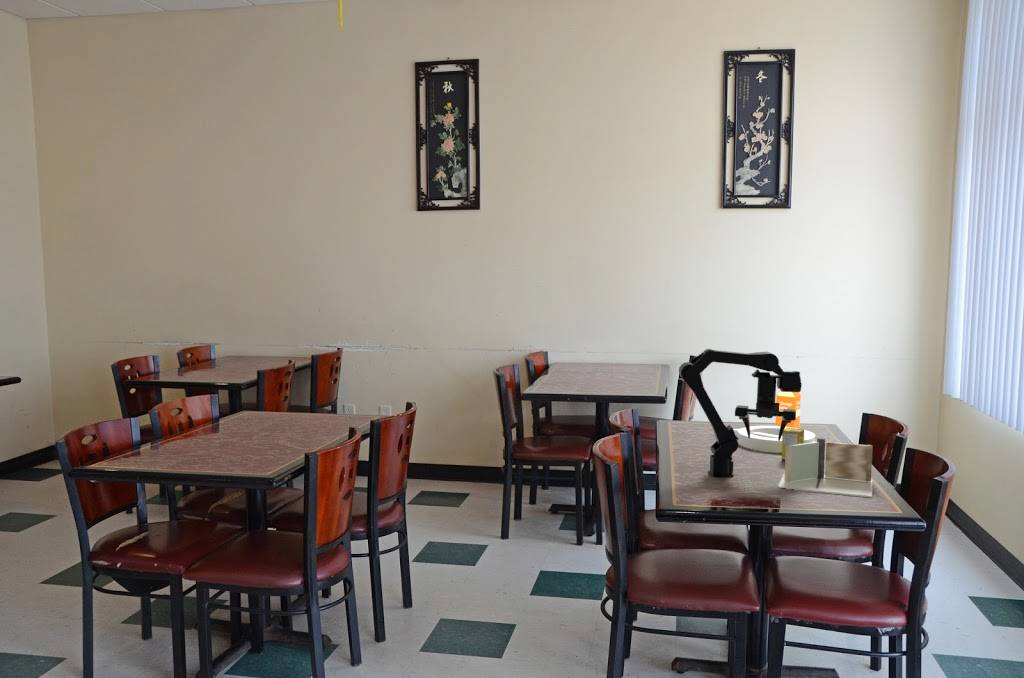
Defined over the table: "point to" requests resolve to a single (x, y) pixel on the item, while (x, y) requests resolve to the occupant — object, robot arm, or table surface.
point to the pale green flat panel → (801, 461)
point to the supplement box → (791, 438)
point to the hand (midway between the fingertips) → (764, 439)
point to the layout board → (830, 486)
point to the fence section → (845, 461)
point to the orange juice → (789, 407)
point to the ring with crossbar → (766, 438)
